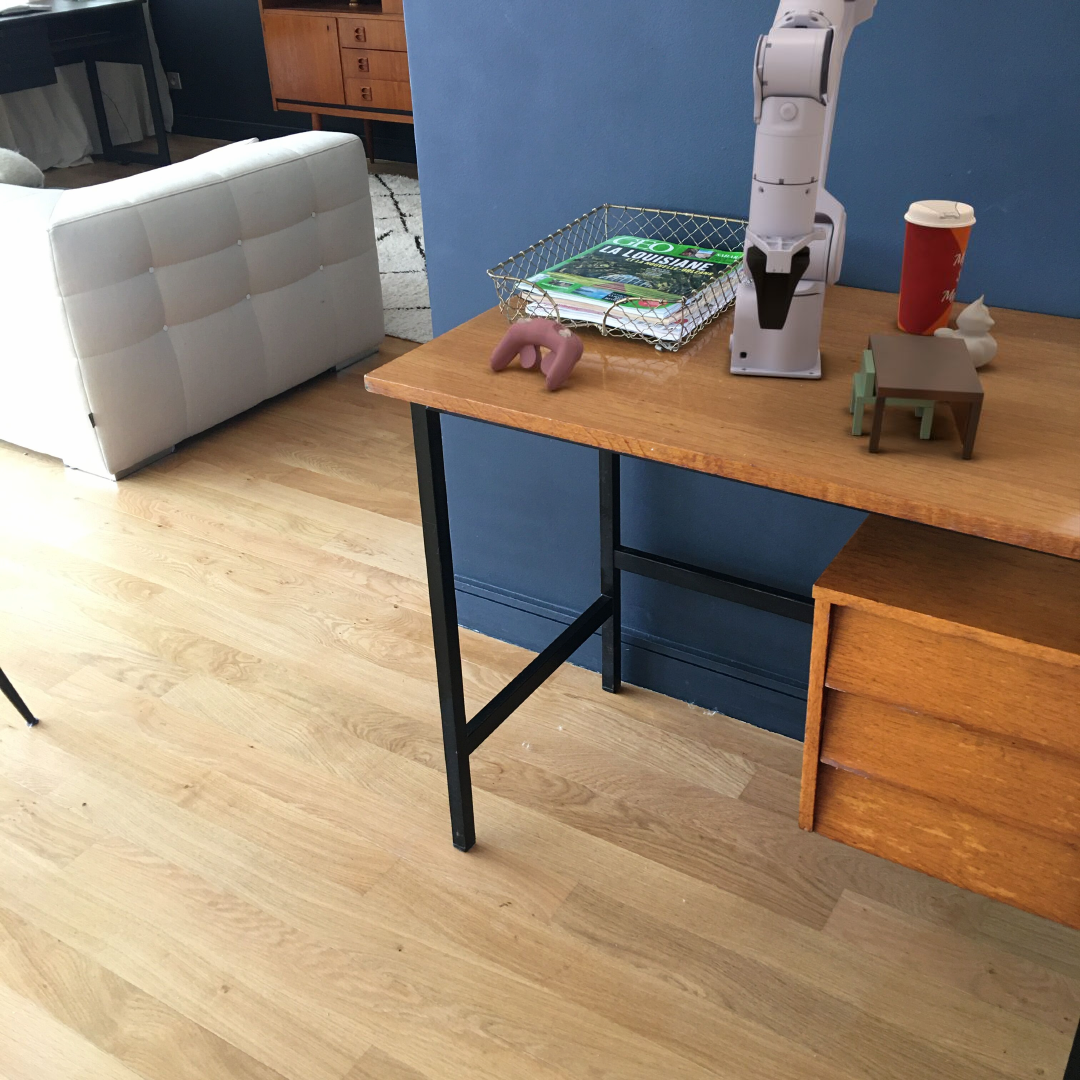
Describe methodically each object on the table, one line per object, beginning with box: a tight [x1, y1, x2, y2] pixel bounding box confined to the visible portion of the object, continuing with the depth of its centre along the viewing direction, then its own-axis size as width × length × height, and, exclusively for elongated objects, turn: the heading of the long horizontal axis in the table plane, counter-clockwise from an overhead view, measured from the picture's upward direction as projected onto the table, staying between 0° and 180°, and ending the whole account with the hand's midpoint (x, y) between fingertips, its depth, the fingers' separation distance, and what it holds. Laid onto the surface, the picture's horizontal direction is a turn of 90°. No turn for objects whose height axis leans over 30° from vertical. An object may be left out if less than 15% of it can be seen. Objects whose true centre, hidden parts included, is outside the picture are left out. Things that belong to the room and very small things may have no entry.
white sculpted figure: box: [933, 293, 998, 369], centre depth 117 cm, size 5×7×8 cm
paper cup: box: [897, 199, 977, 336], centre depth 126 cm, size 8×8×14 cm
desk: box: [866, 333, 985, 460], centre depth 104 cm, size 9×14×6 cm, turn 169°
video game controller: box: [489, 317, 584, 391], centre depth 118 cm, size 10×5×7 cm, turn 47°
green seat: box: [849, 349, 936, 440], centre depth 104 cm, size 7×6×6 cm
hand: (771, 327), depth 103 cm, fingers closed
